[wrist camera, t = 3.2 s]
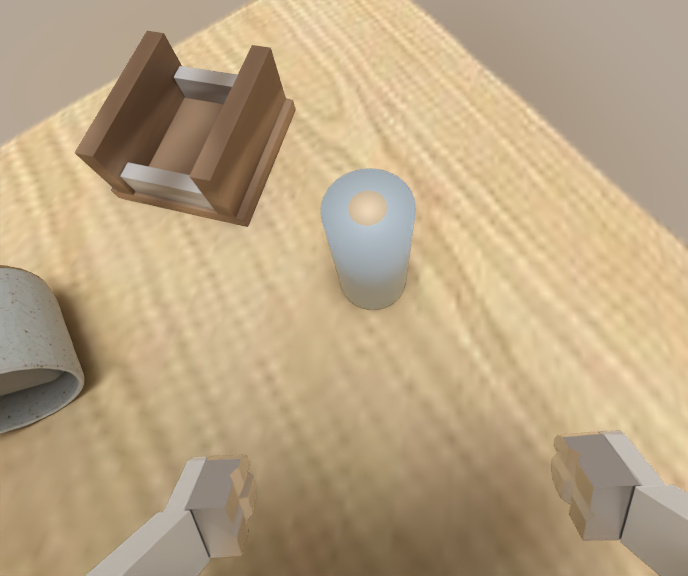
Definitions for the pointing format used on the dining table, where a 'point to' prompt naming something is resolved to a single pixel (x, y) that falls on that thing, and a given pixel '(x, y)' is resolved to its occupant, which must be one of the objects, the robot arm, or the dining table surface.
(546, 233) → the dining table surface
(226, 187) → the holder
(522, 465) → the dining table surface
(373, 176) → the paper roll
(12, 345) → the ceramic mug
